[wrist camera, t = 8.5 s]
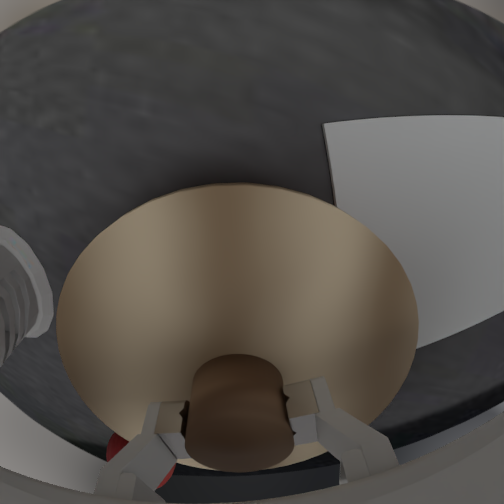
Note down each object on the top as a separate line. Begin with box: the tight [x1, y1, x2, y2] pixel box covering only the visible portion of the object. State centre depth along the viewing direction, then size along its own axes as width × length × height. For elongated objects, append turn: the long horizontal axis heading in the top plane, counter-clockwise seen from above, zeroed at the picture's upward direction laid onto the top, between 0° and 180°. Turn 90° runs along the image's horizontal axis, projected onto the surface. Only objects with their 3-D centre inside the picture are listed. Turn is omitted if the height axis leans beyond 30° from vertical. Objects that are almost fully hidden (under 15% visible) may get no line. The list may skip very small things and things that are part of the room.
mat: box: [322, 115, 504, 349], centre depth 17 cm, size 17×17×1 cm
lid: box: [56, 182, 419, 472], centre depth 10 cm, size 15×15×4 cm
